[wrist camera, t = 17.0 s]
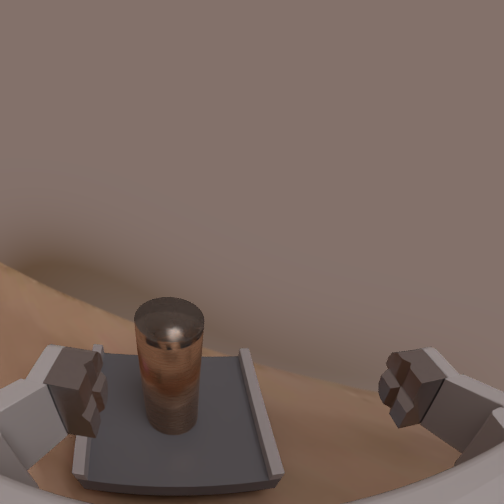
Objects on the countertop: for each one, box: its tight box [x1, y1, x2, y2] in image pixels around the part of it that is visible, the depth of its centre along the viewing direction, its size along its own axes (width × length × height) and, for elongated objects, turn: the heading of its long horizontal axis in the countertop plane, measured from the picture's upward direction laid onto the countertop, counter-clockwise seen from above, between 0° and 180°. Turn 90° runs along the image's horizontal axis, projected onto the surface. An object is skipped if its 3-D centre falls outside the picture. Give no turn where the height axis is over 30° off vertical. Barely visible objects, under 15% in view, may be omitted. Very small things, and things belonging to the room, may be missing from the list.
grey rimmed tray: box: [72, 344, 285, 495], centre depth 32 cm, size 20×18×7 cm
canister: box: [134, 297, 204, 435], centre depth 27 cm, size 6×6×14 cm
